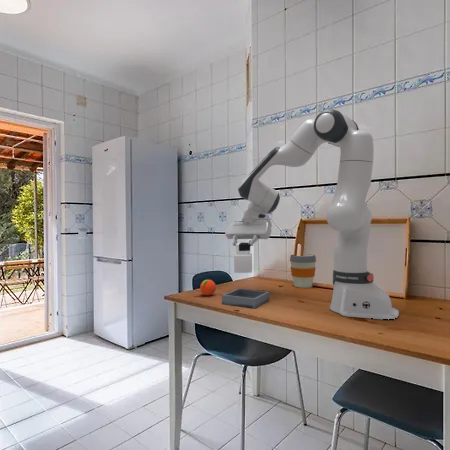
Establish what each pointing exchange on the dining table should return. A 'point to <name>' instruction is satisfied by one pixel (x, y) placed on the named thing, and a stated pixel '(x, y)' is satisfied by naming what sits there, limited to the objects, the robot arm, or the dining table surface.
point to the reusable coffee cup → (303, 270)
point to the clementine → (207, 287)
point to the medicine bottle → (242, 258)
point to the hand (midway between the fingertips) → (242, 244)
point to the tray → (245, 298)
